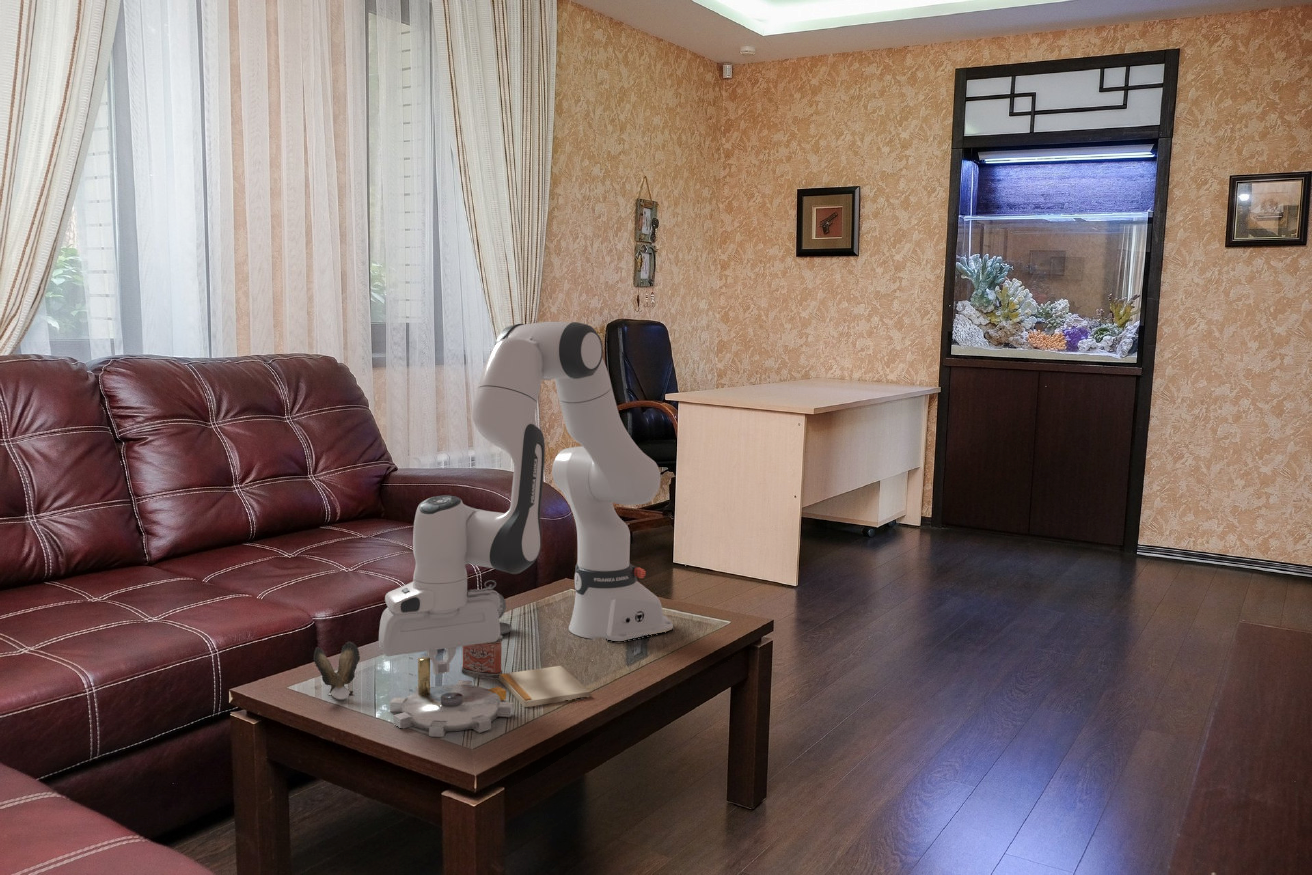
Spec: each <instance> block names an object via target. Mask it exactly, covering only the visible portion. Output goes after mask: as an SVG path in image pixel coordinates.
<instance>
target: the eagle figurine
mask: <svg viewBox="0 0 1312 875" xmlns="http://www.w3.org/2000/svg"><path fill="white" fill-rule="evenodd" d="M360 658H361V656H360V651H359V648H358V646H357V645H356V644H355V643H354V642H351V641H349V640H348V641H347V642H345V643H344V645H342V648H341V652H340V656H339V659H338V668H337V671H336V672H335V670H334V667H333V666H332V664H331V662H330V660H329V659H328V657H327V656H326V654H325V651H324V650H323V649H322V648H319V647H318V646H317V647H315V650H314V654H313V661H314V664H315V666H316V668H317V670H318V671H319V673H320V675H321V680H322V682H323V683H324V684H325V685H326V686H330V690H329V692H328V694H329V693H331V695H332V696H331V697H333V698H335V699H336V700H341V701H342V700H346V699H347V698H348V697H349V696H350V695H349V694H352V695H353V694H354V691H352V690H349V689H348V688H347V687H346V686H345V685H349V684H351V682H352V681H353V680H354V678H355V677H356V676H355V674H356V673H355V672H356V669H357V666H358V665H359V664H358V663H359V662H360Z"/></svg>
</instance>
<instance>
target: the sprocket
mask: <svg viewBox="0 0 1312 875" xmlns="http://www.w3.org/2000/svg"><path fill="white" fill-rule="evenodd" d="M414 689H415V692H413V693H411V694H409V695H408V696H407V697H397V696H396V697H395V696H394V697H393V698H392V699H391V701H390V702H389V711H390V713H392V712H393V713H397V714H394V715H393V726H395V725H396V726H398V727H399V728H403V729H406V728H410V727H415V728H416V729H421V730H424V731H428V736H429V737H432V738H433V737H437V738H444V737H445V736H446V733H447V732H460V731H467V730H474V731H475V732H477V733H479V734H481V733H483V732H486V731H489V730H492V722H493V721H494V720H495V719H497V718H498V717H505V718H506V717H507V718H511V716H512V714H513V712H514V702H513V701H511V702H509V701H504V700H506V699H507V690H506V689H504V688H502V687H501V686H495V687H492V688H486V687H482V686H479V685H473V681H472V680H463V679H462V680H459V681H458V682H457V683H456V684H444V685H437V686H432V685H431V660H430V658H429V657H428V656H423V657H419V658H418V659H417V685H416V686H415V687H414ZM396 726H395V727H396ZM398 727H397V728H398ZM399 728H398V729H399Z"/></svg>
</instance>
